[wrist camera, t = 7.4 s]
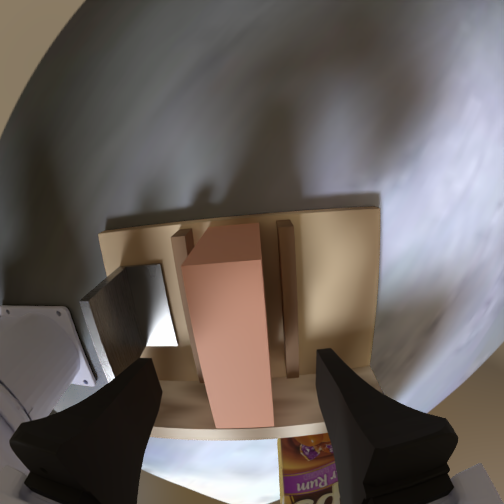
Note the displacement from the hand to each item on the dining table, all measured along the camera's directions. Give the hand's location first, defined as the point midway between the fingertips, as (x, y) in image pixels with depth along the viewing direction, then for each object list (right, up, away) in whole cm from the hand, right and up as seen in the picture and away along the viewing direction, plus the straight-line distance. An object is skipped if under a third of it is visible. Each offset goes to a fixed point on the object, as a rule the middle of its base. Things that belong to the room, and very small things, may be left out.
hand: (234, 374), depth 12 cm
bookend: (-6, +2, +7) cm, 10 cm away
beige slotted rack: (0, +1, +8) cm, 8 cm away
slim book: (0, +3, +7) cm, 7 cm away
